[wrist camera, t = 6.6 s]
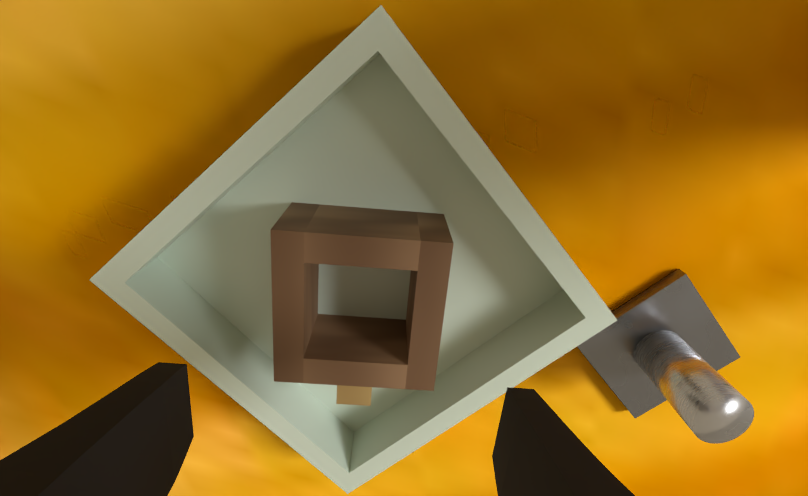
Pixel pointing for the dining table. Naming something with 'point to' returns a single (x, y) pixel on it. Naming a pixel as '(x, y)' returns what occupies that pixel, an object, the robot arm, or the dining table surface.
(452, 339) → the tray
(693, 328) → the grey piece
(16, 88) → the dining table surface
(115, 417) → the robot arm
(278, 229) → the ring
